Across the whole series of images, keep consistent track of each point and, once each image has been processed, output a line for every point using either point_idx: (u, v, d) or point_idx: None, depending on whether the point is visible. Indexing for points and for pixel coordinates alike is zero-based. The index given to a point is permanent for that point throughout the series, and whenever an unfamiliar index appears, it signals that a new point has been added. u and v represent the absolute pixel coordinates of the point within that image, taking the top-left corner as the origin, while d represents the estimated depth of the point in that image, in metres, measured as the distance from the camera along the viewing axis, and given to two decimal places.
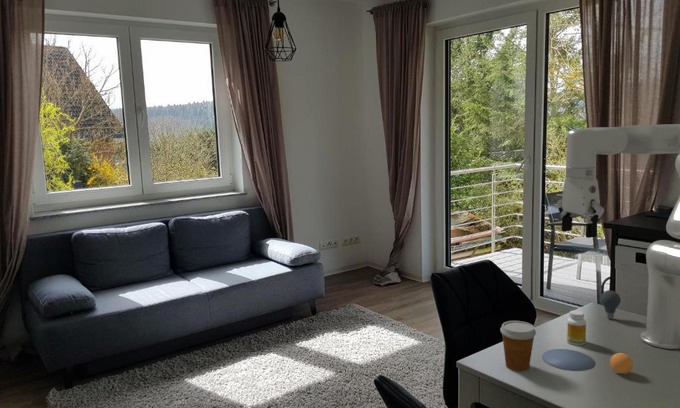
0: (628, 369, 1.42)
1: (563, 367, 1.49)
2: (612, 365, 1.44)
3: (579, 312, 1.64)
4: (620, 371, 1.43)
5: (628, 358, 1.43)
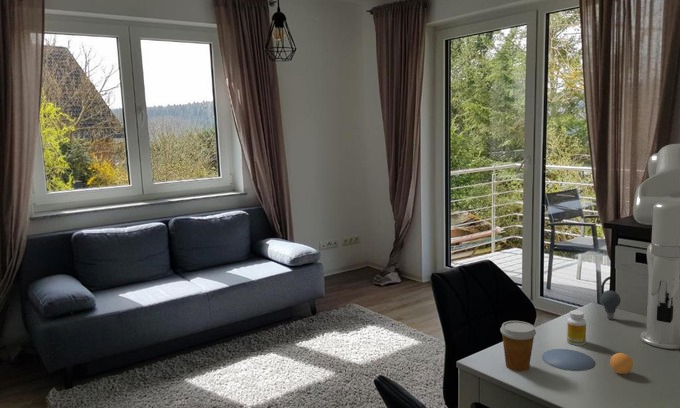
0: (628, 369, 1.42)
1: (563, 367, 1.49)
2: (612, 365, 1.44)
3: (579, 312, 1.64)
4: (620, 371, 1.43)
5: (628, 358, 1.43)
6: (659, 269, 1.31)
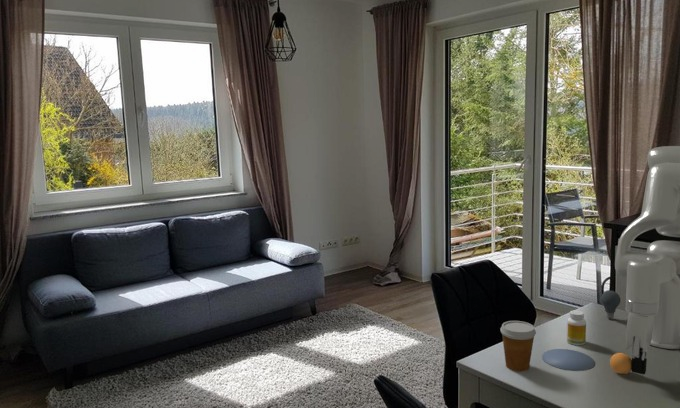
0: (628, 369, 1.42)
1: (563, 367, 1.49)
2: (612, 365, 1.44)
3: (579, 312, 1.64)
4: (620, 371, 1.43)
5: (628, 358, 1.43)
6: (633, 325, 1.37)
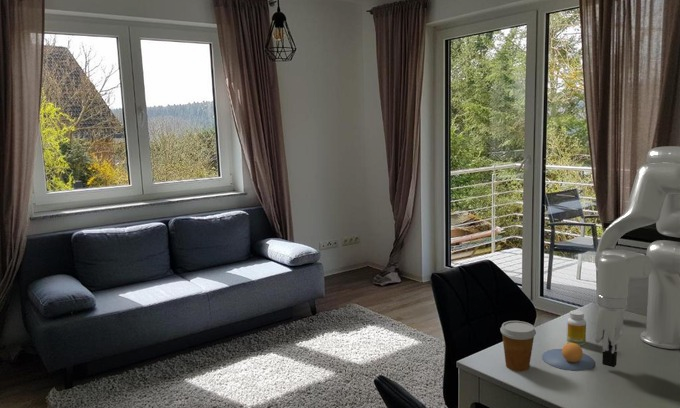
0: None
1: (563, 367, 1.49)
2: (571, 348, 1.50)
3: (579, 312, 1.64)
4: (564, 353, 1.51)
5: (576, 361, 1.51)
6: (603, 319, 1.42)
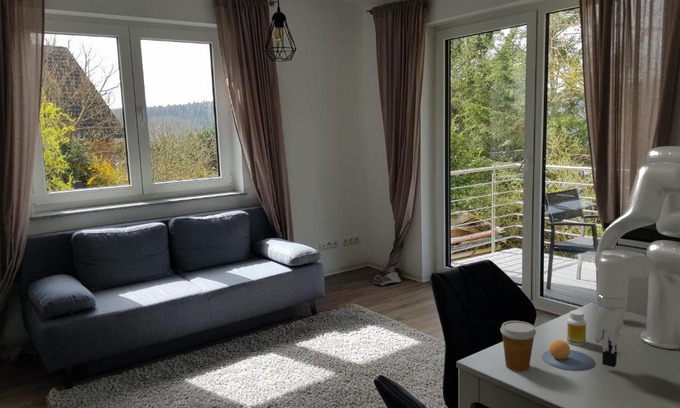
0: (562, 358, 1.52)
1: (563, 367, 1.49)
2: (551, 348, 1.54)
3: (579, 312, 1.64)
4: (554, 356, 1.53)
5: (568, 350, 1.52)
6: (603, 319, 1.42)
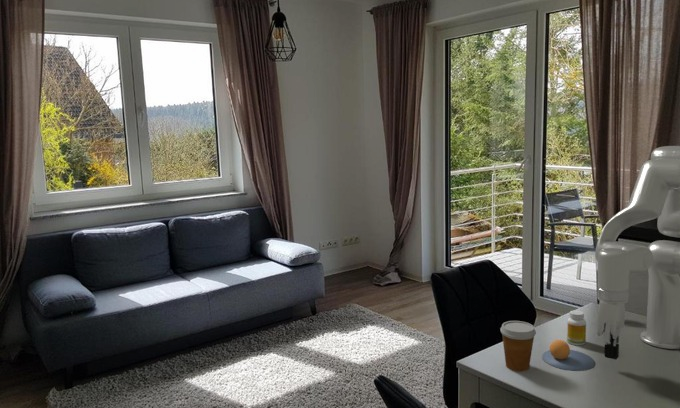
0: (562, 358, 1.52)
1: (563, 367, 1.49)
2: (551, 348, 1.54)
3: (579, 312, 1.64)
4: (554, 356, 1.53)
5: (568, 350, 1.52)
6: (604, 312, 1.42)
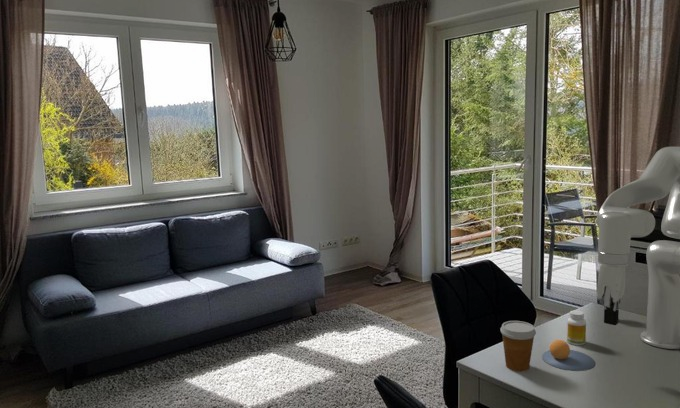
0: (562, 358, 1.52)
1: (563, 367, 1.49)
2: (551, 348, 1.54)
3: (579, 312, 1.64)
4: (554, 356, 1.53)
5: (568, 350, 1.52)
6: (604, 275, 1.40)
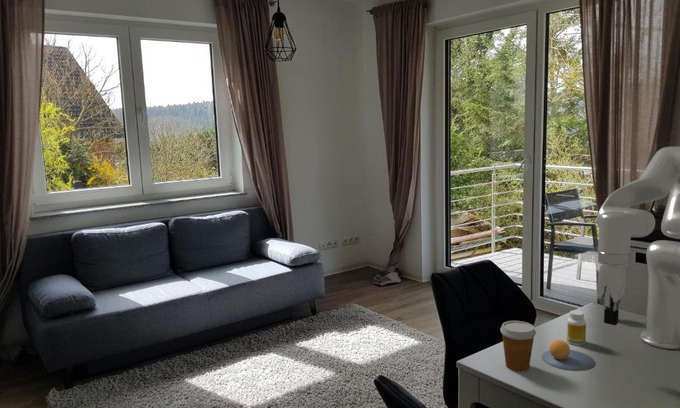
0: (562, 358, 1.52)
1: (563, 367, 1.49)
2: (551, 348, 1.54)
3: (579, 312, 1.64)
4: (554, 356, 1.53)
5: (568, 350, 1.52)
6: (604, 275, 1.40)
